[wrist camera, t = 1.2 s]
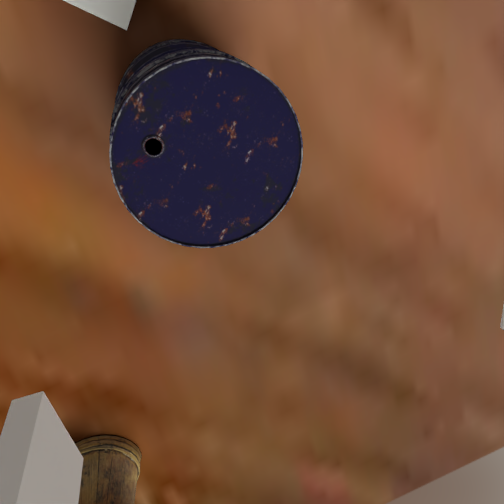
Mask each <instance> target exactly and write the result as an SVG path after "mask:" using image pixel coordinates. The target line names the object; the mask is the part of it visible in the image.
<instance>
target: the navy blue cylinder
mask: <svg viewBox="0 0 504 504" xmlns="http://www.w3.org/2000/svg"><path fill="white" fill-rule="evenodd" d="M109 153H110V168H111V173H112V177H113V182H114V184H115V187H116V189H117V192H118V194H119V197H120V198H121V200H122V202H123V203H124V205H125V206H126V208H127V210H128V211H129V212H130V213H131V214H132V215H133V217H134V218H135V219H136V220H137V221H138V222H139V223H140V224H142V225H143V226H144V227H145V228H146V229H147V230H149V231H150V232H152V233H154V234H155V235H157V236H159V237H160V238H163V239H165V240H167V241H170V242H172V243H175V244H179V245H183V246H187V247H196V248H214V247H221V246H227V245H230V244H233V243H236V242H240V241H242V240H244V239H246V238H248V237H250V236H252V235H254V234H256V233H257V232H259V231H260V230H262V229H263V228H265V227H266V226H267V225H268V224H269V223H270V222H272V221H273V220H274V219H275V218H276V217H277V215H278V214H279V213H280V212H281V211H282V210H283V208H284V207H285V205H286V204H287V202H288V201H289V199H290V198H291V196H292V194H293V191H294V189H295V187H296V185H297V182H298V179H299V175H300V172H301V166H302V159H303V141H302V135H301V129H300V126H299V123H298V119H297V116H296V114H295V112H294V110H293V108H292V106H291V104H290V102H289V100H288V99H287V98H286V96H285V95H284V94H283V92H282V91H281V90H280V88H279V87H278V86H276V85H275V84H274V83H273V82H272V81H271V80H270V79H269V78H268V77H267V76H265V75H264V74H262V73H261V72H259V71H258V70H256V69H255V68H253V67H252V66H250V65H249V64H247V63H246V62H244V61H242V60H240V59H238V58H236V57H234V56H231V55H229V54H227V53H225V52H222V51H219V50H217V49H216V48H213V47H211V46H209V45H207V44H205V43H201V42H197V41H194V40H183V39H175V40H167V41H163V42H159V43H157V44H154V45H152V46H150V47H148V48H147V49H146V50H144V51H143V52H141V53H140V54H139V55H138V56H137V57H136V58H135V59H134V60H133V61H132V63H131V64H130V66H129V67H128V69H127V70H126V72H125V74H124V76H123V78H122V80H121V82H120V85H119V87H118V91H117V94H116V98H115V107H114V110H113V114H112V121H111V129H110V151H109Z"/></svg>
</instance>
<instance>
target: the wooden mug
mask: <svg viewBox="0 0 504 504" xmlns="http://www.w3.org/2000/svg"><path fill="white" fill-rule="evenodd" d="M75 445H76V447H77V448H78V450H79V452H80V453H81V455H82V457H83V467H82V476H81V485H80V493H79V502H78V504H134V501H135V492H136V484H137V480H138V477H139V474H140V461H141V456H142V455H141V452H140V450H139V448H138V447H137V446H136V445H135V444H134V443H132V442H130V441H129V440H127V439H124V438H121V437H117V436H107V435H104V436H96V437H91V438H87V439H84V440H81V441H79V442H77V443H75Z"/></svg>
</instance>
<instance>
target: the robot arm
mask: <svg viewBox="0 0 504 504" xmlns="http://www.w3.org/2000/svg"><path fill="white" fill-rule="evenodd" d="M500 327H501V328H502V329H503V330H504V306H503V313H502V319H501V325H500ZM82 467H83V457H82V455H81V453H80V452H79V450H78V448H77V447H76V445H75V443H74V442H73V440H72V438H71V437H70V435H69V433H68V432H67V430H66V428H65V427H64V425H63V423H62V422H61V420H60V418H59V417H58V415H57V413H56V412H55V410H54V408H53V407H52V405H51V403H50V402H49V400H48V398H47V397H46V395H45V393H44V392H43V391H42V392H39V393H35V394H32V395H29V396H25V397H22V398H18V399H15V400H12V402H11V405H10V408H9V411H8V414H7V417H6V421H5V424H4V427H3V430H2V433H1V436H0V504H78V502H79V493H80V485H81V476H82Z"/></svg>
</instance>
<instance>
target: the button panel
mask: <svg viewBox="0 0 504 504" xmlns="http://www.w3.org/2000/svg"><path fill="white" fill-rule="evenodd" d="M63 1H65V2H68V3H70V4H72V5H74V6H76V7H78V8H80V9H82V10H85V11H87V12H89V13H91V14H93V15H95V16H97V17H99V18H102V19H104V20H106V21H108V22H110V23H112V24H114V25H116V26H118V27H121V28H123V29H125V30H127V29H128V25H129V22H130V19H131V16H132V12H133V9H134V6H135V3H136V0H63Z"/></svg>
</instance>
